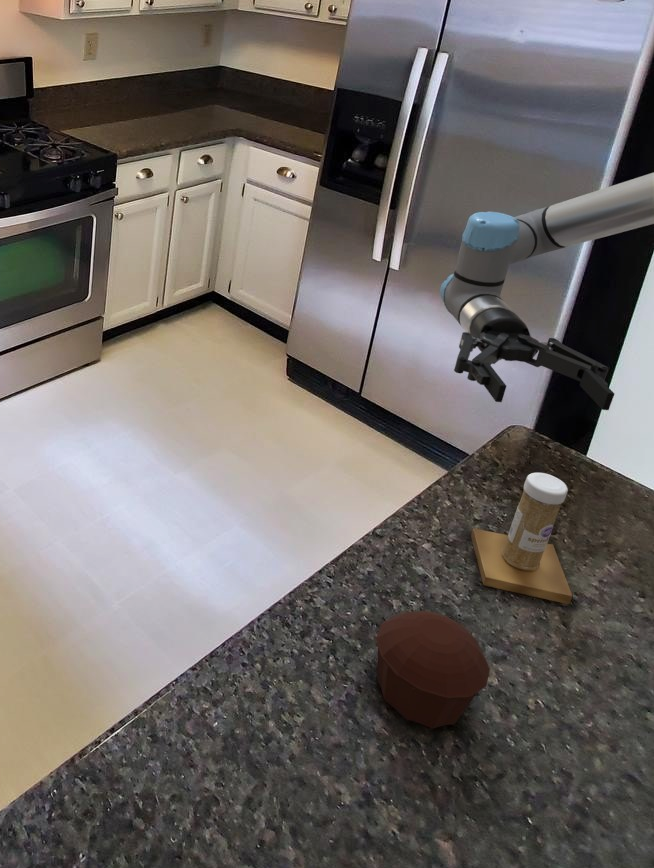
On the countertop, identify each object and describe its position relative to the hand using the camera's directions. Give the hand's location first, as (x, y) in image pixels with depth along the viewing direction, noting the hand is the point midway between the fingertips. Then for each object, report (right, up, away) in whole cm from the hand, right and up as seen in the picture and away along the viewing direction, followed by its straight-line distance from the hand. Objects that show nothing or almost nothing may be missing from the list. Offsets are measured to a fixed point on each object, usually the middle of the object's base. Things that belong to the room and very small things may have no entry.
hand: (554, 398), depth 110 cm
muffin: (-28, -32, -18) cm, 46 cm away
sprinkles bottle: (-6, -22, -1) cm, 23 cm away
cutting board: (-5, -24, 0) cm, 24 cm away
